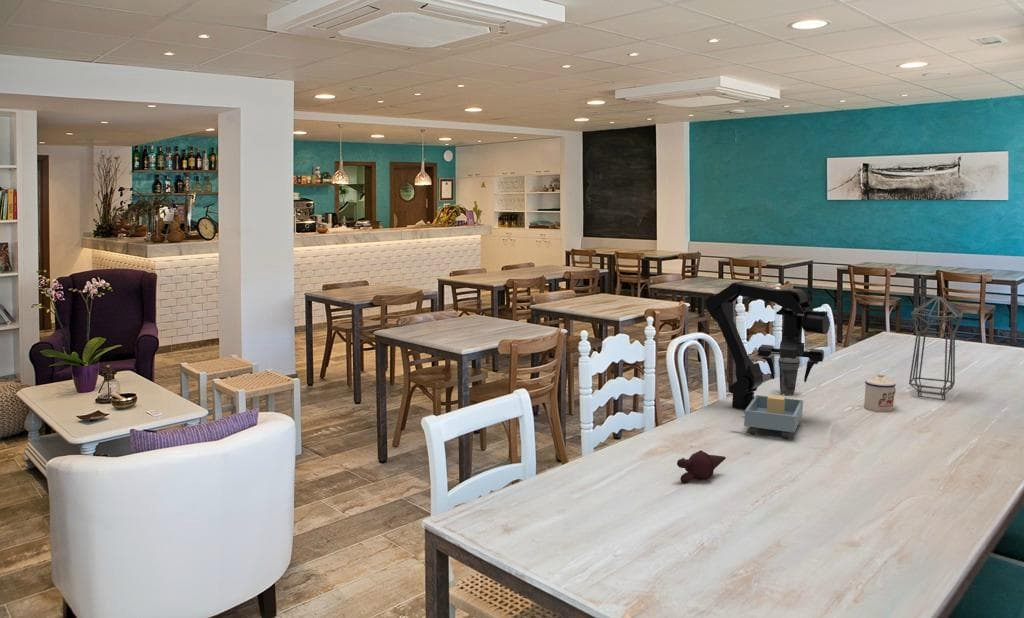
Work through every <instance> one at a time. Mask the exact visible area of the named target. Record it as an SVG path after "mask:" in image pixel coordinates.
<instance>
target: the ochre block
mask: <svg viewBox="0 0 1024 618" xmlns="http://www.w3.org/2000/svg"><path fill="white" fill-rule="evenodd" d="M767 396H768V398H767V413H775V414H783V415H784V410H785V398H786V395H777V394H768V395H767Z"/></svg>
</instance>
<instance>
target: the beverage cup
mask: <svg viewBox="0 0 1024 618" xmlns="http://www.w3.org/2000/svg"><path fill="white" fill-rule="evenodd" d="M777 361H778V368H779V391H780V392H779V393H781V394H780V395H782V394H784V395H783V396H788V395H791V396H794V395H795V390H796V385H797V384H796V383H797V377H798V372H799V371H798V370H799V367H800V364H801V361H800V357H798V356H797V358H796V359H791V358H781V357H780V355H779V357H778V360H777Z"/></svg>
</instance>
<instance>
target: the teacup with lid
mask: <svg viewBox="0 0 1024 618" xmlns="http://www.w3.org/2000/svg"><path fill="white" fill-rule="evenodd" d="M864 384H865V386H864V387H865V389H864V402H863V407H864V409H866V410H869V411H873V412H880V413H888V412H892V411H893V409H894V401H895V395H896V393H897V392H896V391H897V389H896V382H895V381H893V380H891V379H889V378H888V377H886V376H885V374H884V373H882V372H881V373H880V372H879V373H877V375H876V376H873V377H870V378H867V379H865V381H864Z"/></svg>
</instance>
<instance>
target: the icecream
mask: <svg viewBox="0 0 1024 618" xmlns="http://www.w3.org/2000/svg"><path fill="white" fill-rule="evenodd" d="M726 458H727V457H726V456H723V455H717V454H716V455H714V454H708V453H707V452H705V451H704V450H699V451H696V452H694V453H692V454H691V455H690V457H689V458H687V459H686V458H685V457H682V458H679V459H678V460H677V462H676V466H677V467H678V468H679V469H684V470H685V471H686V472H685V473H683V474H682V475H681V476H680V482H681V483H684V484H686V483H688V482H690V481H692V480H693V478H695V479H709V478H711V477H713V476H714V473H715V472H714V470H716V468H718V466H720V465H721V464H722V463H723V462H724V460H727V459H726Z"/></svg>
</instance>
